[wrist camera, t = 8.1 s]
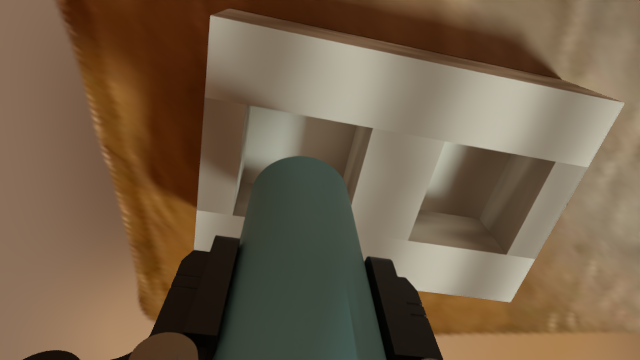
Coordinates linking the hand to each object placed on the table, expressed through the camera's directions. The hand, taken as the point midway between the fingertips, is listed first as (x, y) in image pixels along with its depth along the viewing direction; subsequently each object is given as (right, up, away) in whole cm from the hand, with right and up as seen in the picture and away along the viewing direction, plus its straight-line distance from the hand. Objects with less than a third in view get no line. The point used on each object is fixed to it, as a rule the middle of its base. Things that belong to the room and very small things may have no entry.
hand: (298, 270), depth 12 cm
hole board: (+4, +4, +11) cm, 12 cm away
